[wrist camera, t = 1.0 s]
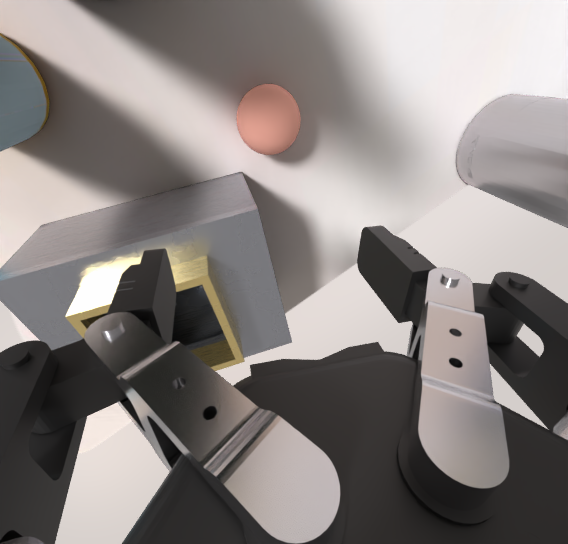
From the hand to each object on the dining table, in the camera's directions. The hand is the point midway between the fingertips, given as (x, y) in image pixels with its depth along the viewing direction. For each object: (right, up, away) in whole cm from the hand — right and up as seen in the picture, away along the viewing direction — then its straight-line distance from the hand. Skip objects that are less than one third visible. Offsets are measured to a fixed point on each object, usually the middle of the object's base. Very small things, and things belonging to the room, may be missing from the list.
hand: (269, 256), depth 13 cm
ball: (-1, +11, +11) cm, 16 cm away
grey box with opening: (-11, +1, +19) cm, 22 cm away
